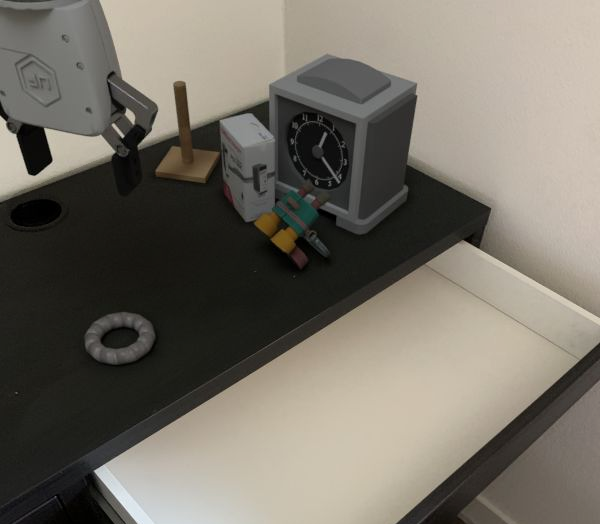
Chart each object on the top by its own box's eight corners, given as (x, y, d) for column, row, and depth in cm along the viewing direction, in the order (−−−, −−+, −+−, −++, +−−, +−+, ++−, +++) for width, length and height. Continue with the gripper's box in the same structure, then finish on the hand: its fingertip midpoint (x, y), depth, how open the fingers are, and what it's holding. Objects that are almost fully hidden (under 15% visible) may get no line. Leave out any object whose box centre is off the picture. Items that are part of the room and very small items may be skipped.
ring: (75, 361, 76) (71, 350, 75) (103, 315, 81) (100, 304, 80) (141, 372, 75) (138, 361, 74) (165, 326, 80) (163, 315, 79)
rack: (155, 176, 102) (142, 92, 93) (173, 151, 108) (162, 68, 98) (205, 183, 102) (197, 98, 92) (220, 157, 107) (214, 75, 97)
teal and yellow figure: (277, 251, 94) (241, 211, 86) (323, 205, 93) (292, 160, 85) (314, 287, 89) (280, 248, 81) (363, 238, 88) (334, 194, 80)
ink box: (222, 194, 100) (217, 117, 91) (251, 186, 101) (249, 110, 92) (246, 224, 95) (242, 146, 86) (276, 216, 96) (276, 138, 87)
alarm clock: (261, 191, 100) (258, 66, 87) (312, 157, 107) (317, 36, 94) (362, 236, 93) (376, 108, 80) (410, 197, 100) (431, 72, 87)
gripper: (-95, -29, 49) (-17, 180, 62) (110, 4, 46) (147, 218, 59) (-30, -56, 54) (30, 143, 67) (161, -28, 50) (185, 177, 63)
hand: (85, 178), depth 63 cm, fingers open, 9 cm apart
